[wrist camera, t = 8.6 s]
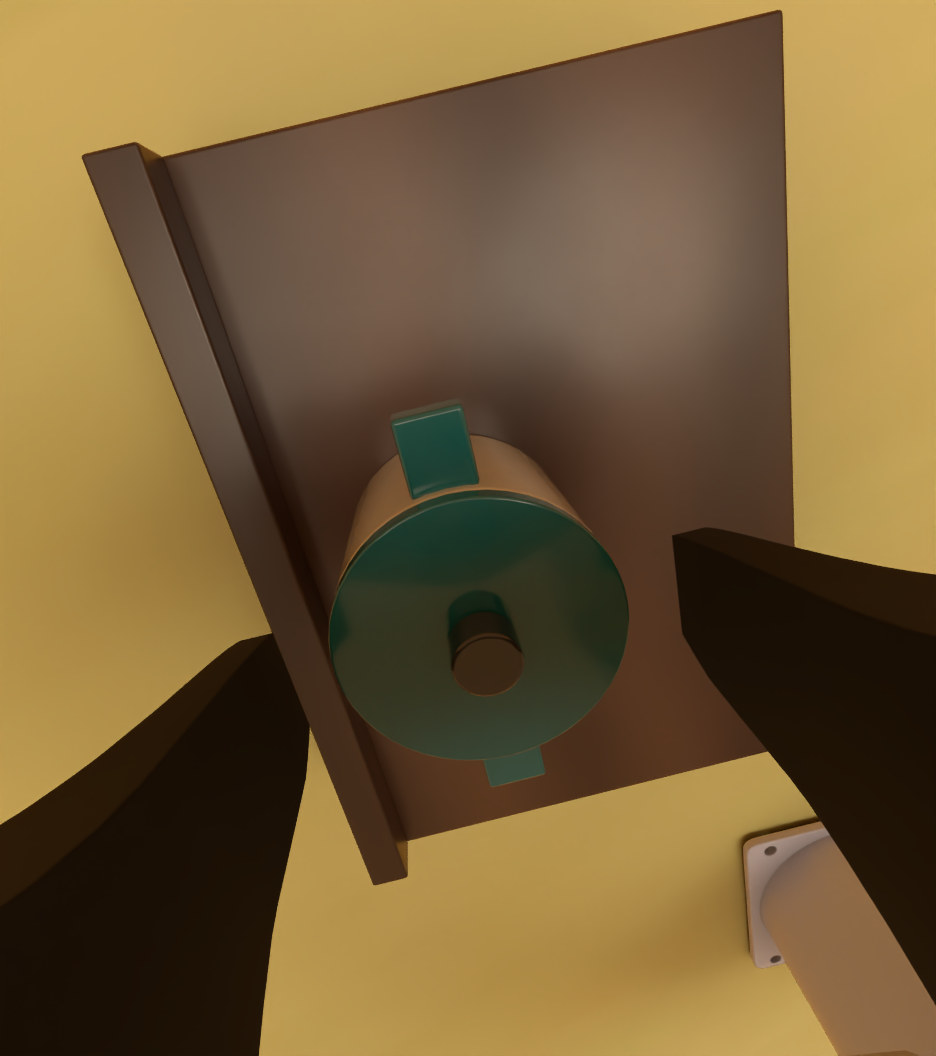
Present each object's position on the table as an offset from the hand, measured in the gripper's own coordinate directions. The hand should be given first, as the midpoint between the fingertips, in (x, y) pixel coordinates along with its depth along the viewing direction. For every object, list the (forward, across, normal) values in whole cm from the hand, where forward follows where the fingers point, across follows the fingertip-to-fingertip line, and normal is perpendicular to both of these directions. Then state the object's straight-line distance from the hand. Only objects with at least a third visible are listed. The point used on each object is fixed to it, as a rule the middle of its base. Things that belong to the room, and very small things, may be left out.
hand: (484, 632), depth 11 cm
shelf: (+9, -2, 0) cm, 9 cm away
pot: (+4, 0, 0) cm, 4 cm away
